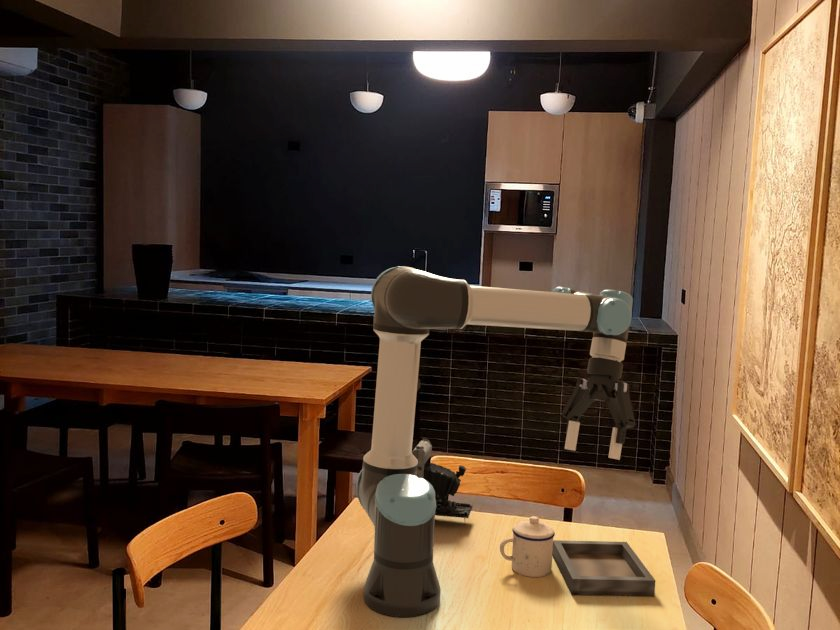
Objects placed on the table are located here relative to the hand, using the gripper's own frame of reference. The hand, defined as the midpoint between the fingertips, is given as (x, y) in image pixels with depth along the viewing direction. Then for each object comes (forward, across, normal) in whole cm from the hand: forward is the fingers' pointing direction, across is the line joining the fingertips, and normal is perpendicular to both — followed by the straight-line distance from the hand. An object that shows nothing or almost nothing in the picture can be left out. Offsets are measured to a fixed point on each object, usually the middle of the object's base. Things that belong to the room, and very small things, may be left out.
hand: (591, 454), depth 166 cm
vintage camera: (+24, +37, +11) cm, 45 cm away
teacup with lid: (+27, +6, +8) cm, 29 cm away
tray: (+25, -3, -5) cm, 26 cm away
